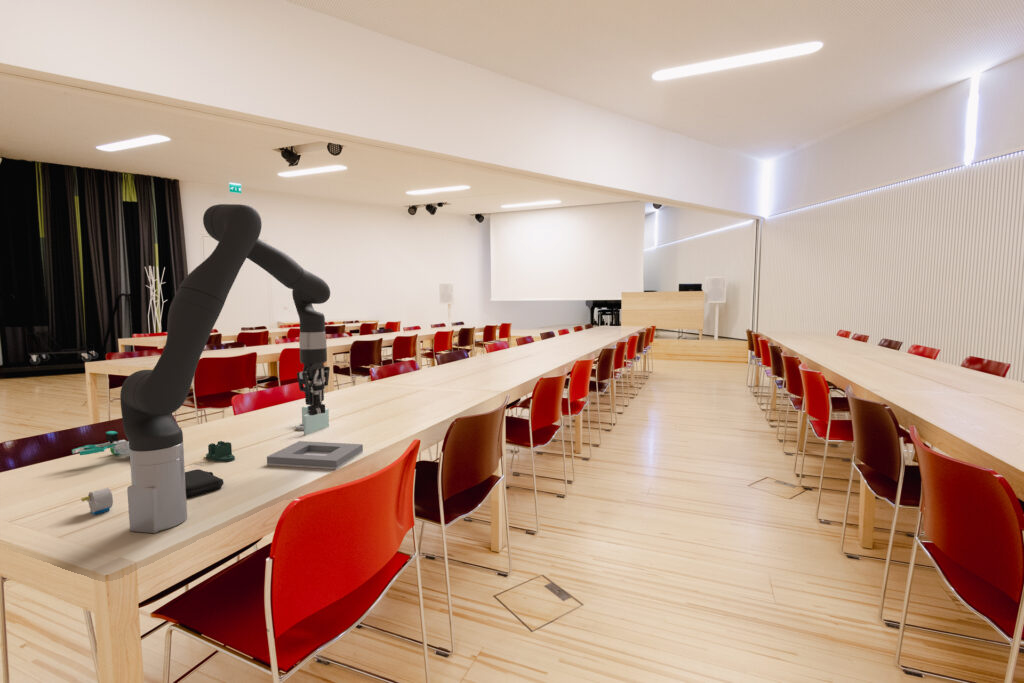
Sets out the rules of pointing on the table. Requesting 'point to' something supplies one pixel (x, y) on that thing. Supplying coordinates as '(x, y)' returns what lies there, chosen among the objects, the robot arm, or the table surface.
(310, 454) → the plate
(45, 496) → the table surface
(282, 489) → the table surface
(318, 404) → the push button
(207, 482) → the carrying case or bag
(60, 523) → the table surface
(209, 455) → the mount
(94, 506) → the electric motor
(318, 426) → the l-shaped corner panel
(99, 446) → the robot kit
